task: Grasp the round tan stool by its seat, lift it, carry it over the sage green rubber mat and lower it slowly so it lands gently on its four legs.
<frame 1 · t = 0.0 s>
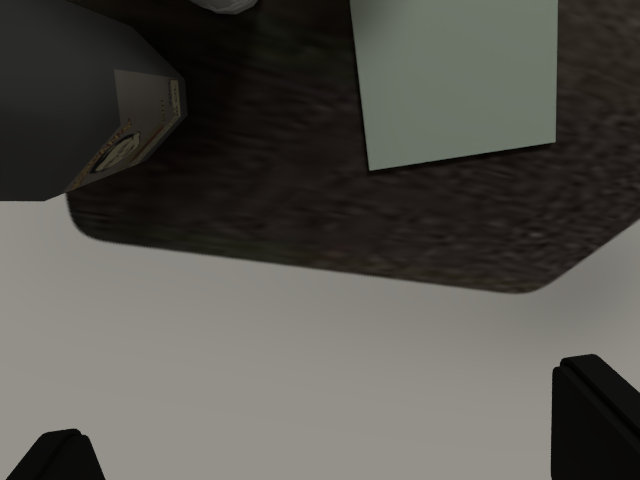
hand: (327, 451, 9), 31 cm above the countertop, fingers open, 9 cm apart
sage mat: (455, 57, 36), on the countertop
liquor: (127, 96, 36), on the countertop
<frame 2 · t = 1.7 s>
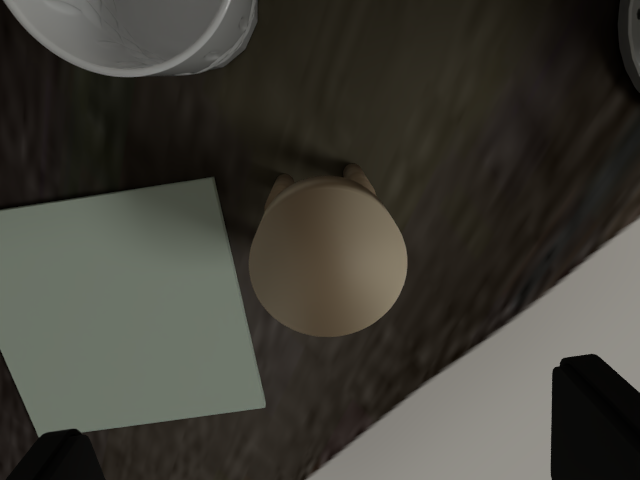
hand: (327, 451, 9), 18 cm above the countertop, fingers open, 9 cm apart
round tan stool: (323, 210, 26), on the countertop
sage mat: (120, 317, 28), on the countertop
white cup: (194, 3, 23), on the countertop
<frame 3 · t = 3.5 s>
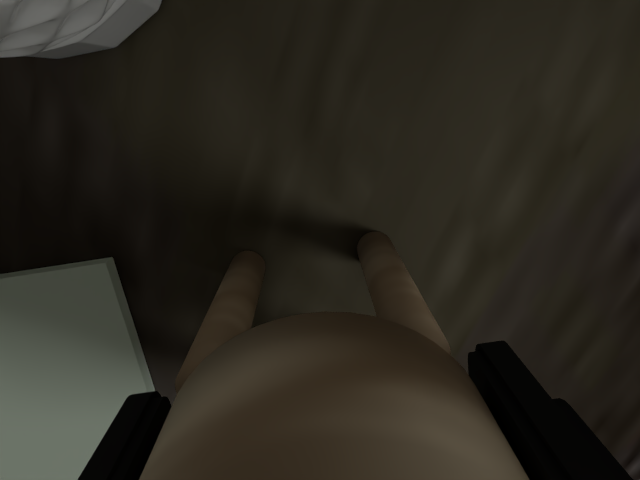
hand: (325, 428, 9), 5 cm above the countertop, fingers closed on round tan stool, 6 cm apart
round tan stool: (320, 314, 14), on the countertop, touching gripper
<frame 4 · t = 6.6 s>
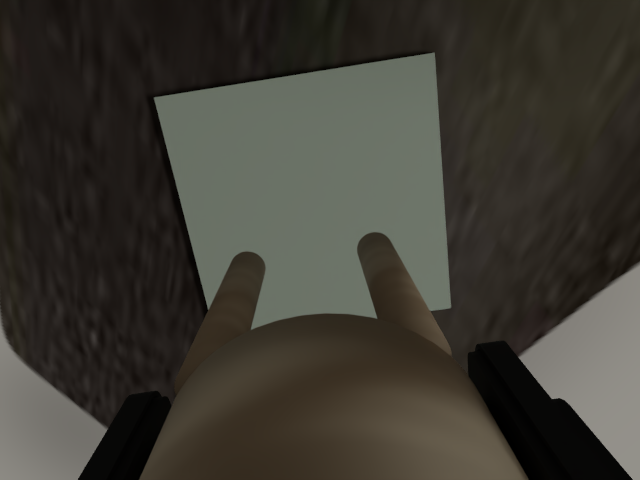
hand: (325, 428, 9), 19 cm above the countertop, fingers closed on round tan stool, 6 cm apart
round tan stool: (320, 315, 14), point 14 cm above the countertop, touching gripper
sage mat: (314, 209, 28), on the countertop
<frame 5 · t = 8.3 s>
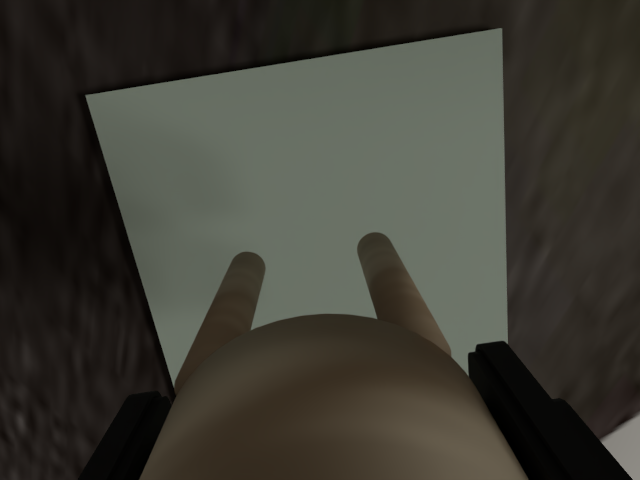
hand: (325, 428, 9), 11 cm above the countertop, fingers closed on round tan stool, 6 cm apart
round tan stool: (320, 315, 14), point 6 cm above the countertop, touching gripper
sage mat: (321, 253, 20), on the countertop
when the fingers open (7 cm above the countertop, at t = 9.8 s): round tan stool drops 1 cm, resting on sage mat.
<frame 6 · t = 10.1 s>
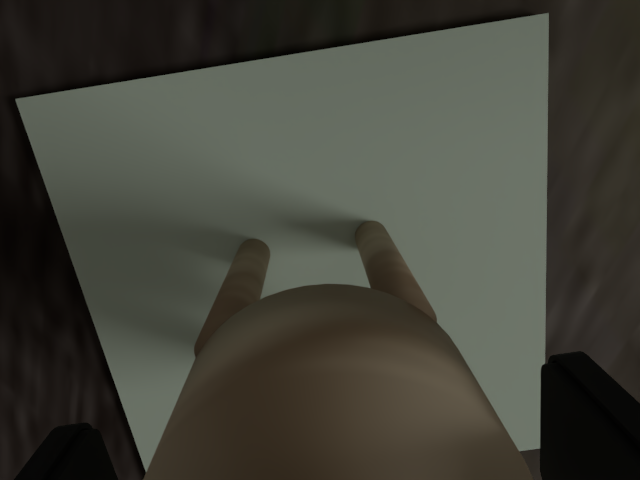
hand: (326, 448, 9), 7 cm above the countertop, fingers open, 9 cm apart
round tan stool: (321, 298, 15), resting on sage mat
sage mat: (318, 293, 16), on the countertop
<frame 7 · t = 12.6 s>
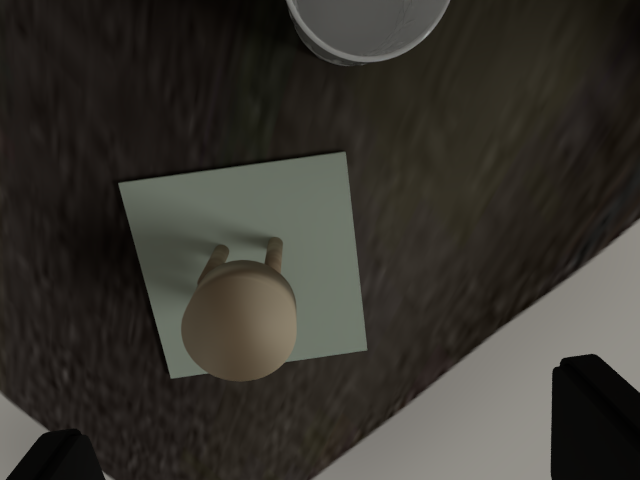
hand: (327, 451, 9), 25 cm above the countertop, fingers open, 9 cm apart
round tan stool: (253, 272, 33), resting on sage mat
sage mat: (252, 270, 34), on the countertop
white cup: (344, 11, 29), on the countertop
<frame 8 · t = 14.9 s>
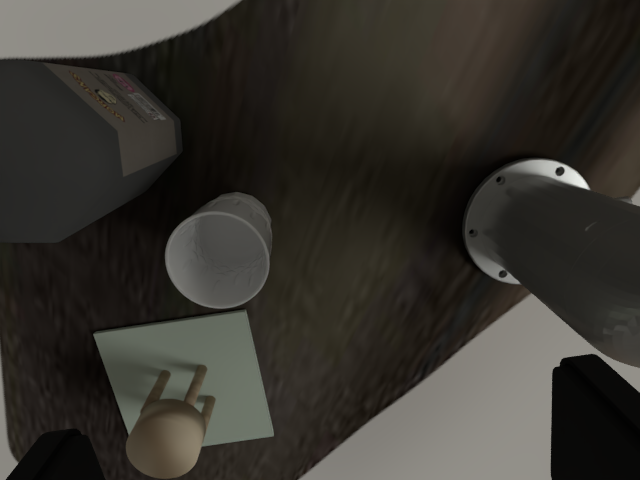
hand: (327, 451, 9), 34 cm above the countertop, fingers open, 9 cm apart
round tan stool: (188, 387, 48), resting on sage mat
sage mat: (188, 384, 48), on the countertop
white cup: (237, 224, 43), on the countertop
liquor: (128, 134, 40), on the countertop
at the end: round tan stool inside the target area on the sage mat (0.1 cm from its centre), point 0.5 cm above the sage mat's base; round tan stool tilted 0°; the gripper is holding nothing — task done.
